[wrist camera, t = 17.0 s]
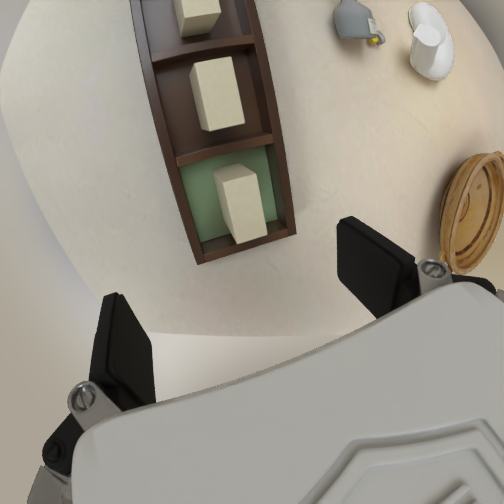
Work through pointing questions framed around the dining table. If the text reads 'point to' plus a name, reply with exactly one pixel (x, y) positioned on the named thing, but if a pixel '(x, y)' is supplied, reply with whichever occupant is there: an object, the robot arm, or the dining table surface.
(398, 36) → the dining table surface
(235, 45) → the tray
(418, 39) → the sculpture
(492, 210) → the ceramic bowl
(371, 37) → the reed diffuser
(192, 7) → the block
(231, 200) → the cream rectangular block
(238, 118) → the block
